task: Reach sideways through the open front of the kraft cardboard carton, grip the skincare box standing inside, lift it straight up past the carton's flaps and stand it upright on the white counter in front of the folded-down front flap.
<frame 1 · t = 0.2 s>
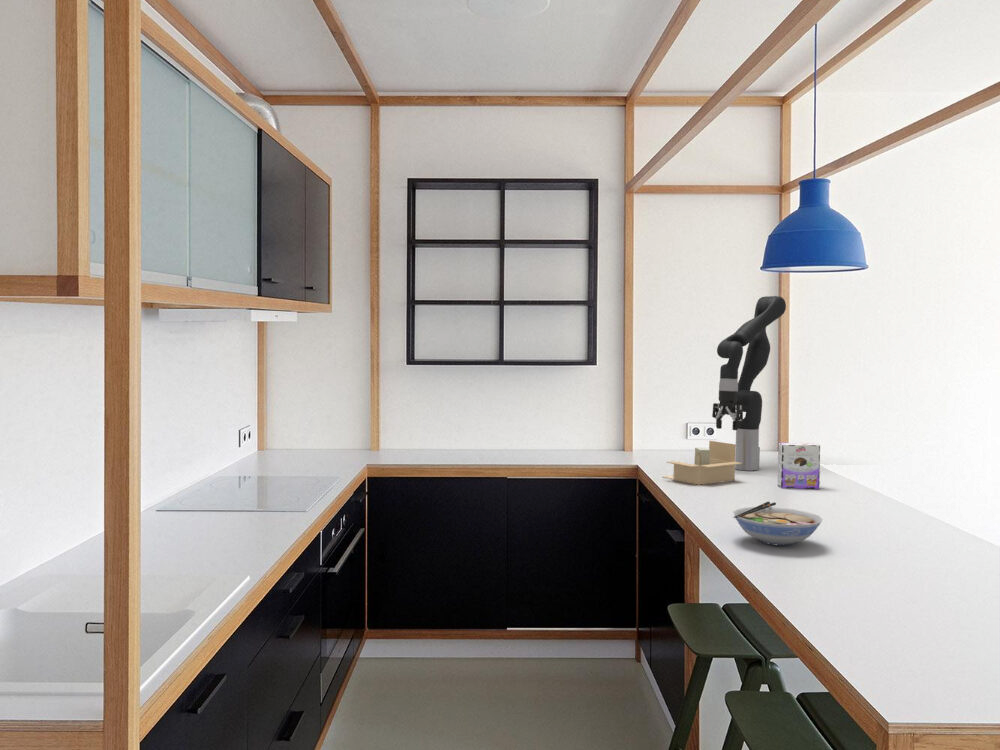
hand: (726, 429, 335), 18 cm above the counter, tool pointing down, fingers open, 8 cm apart
ramen bowl: (776, 543, 219), on the counter
carton: (704, 480, 316), on the counter
candy box: (798, 488, 303), on the counter
skincare box: (701, 480, 317), resting in carton
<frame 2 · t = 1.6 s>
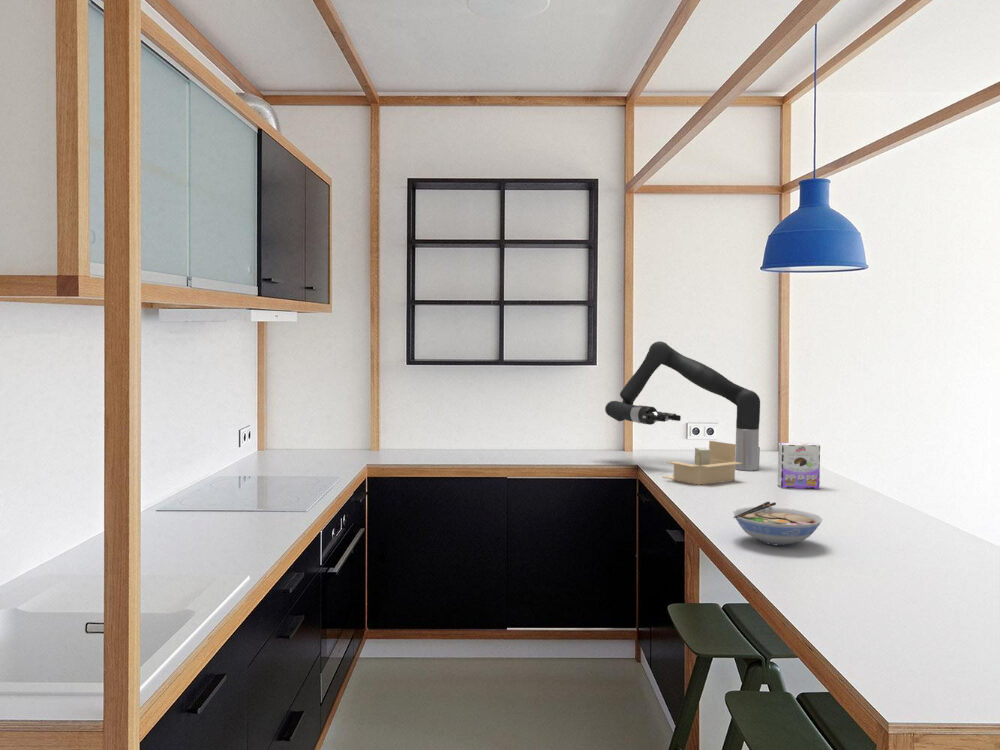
hand: (672, 418, 329), 22 cm above the counter, tool horizontal, fingers open, 8 cm apart
nothing on the counter moved.
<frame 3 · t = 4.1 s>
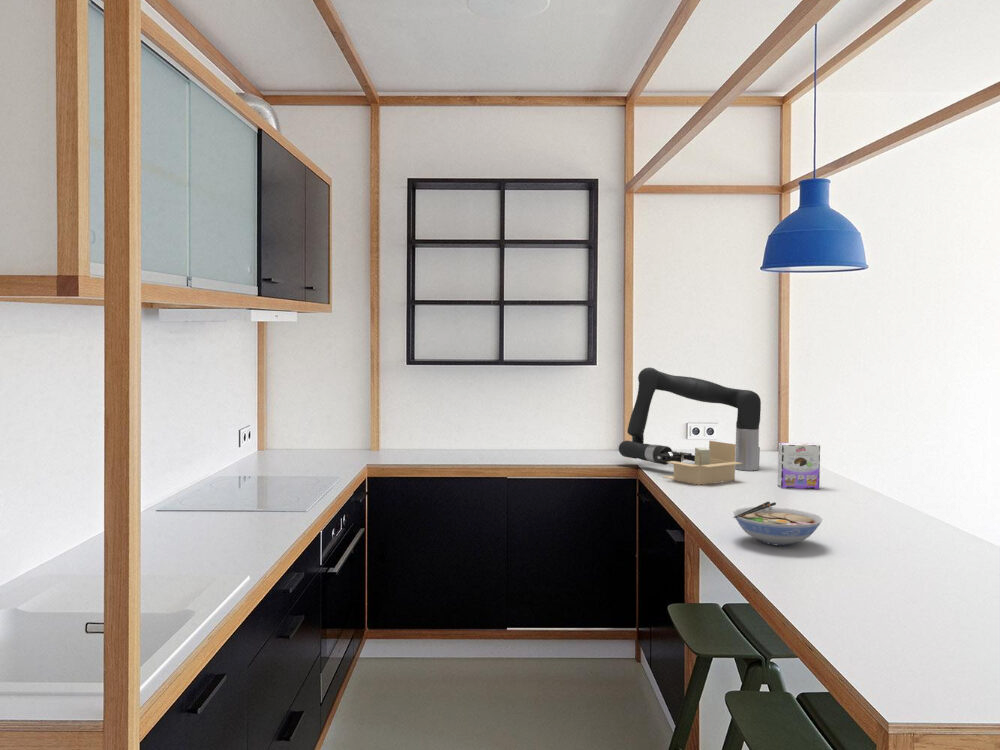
hand: (688, 459, 323), 7 cm above the counter, tool horizontal, fingers open, 8 cm apart
nothing on the counter moved.
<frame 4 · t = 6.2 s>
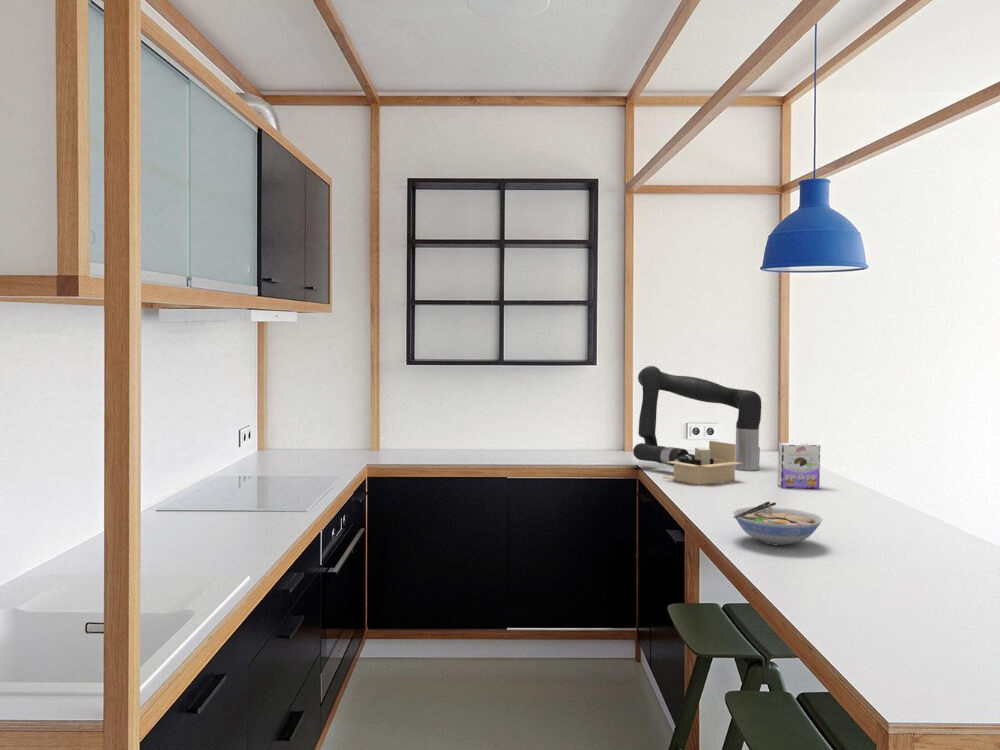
hand: (706, 462, 315), 7 cm above the counter, tool horizontal, fingers closed on skincare box, 6 cm apart
skincare box: (701, 480, 317), resting in carton, touching gripper
everything else where it was.
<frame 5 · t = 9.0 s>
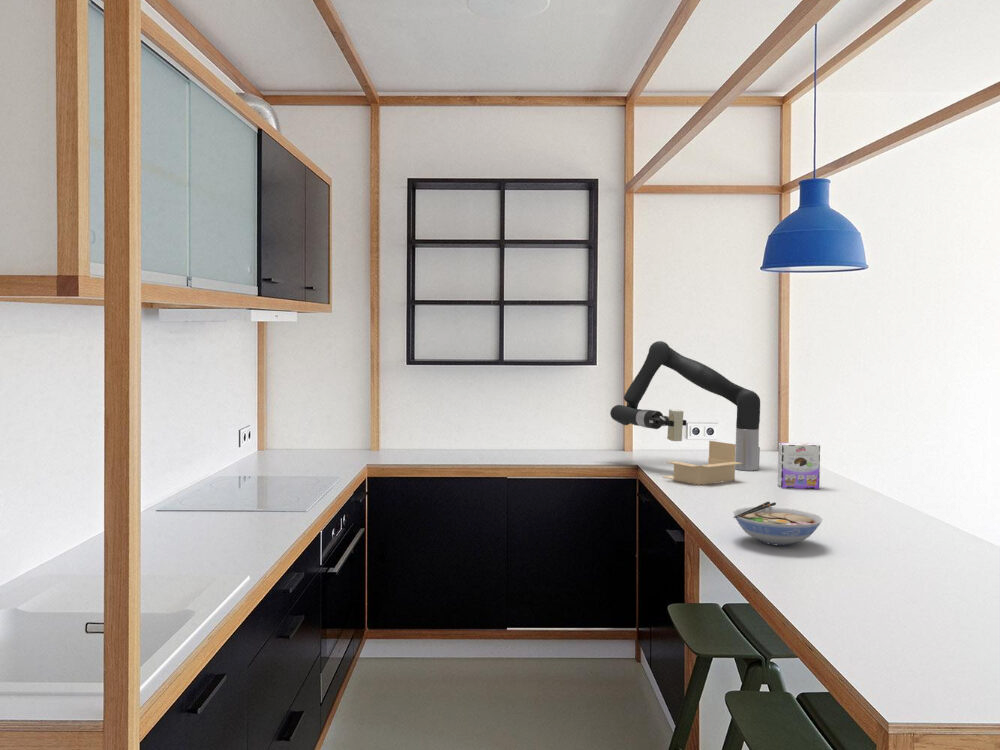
hand: (679, 423, 326), 21 cm above the counter, tool horizontal, fingers closed on skincare box, 6 cm apart
skincare box: (674, 440, 328), point 14 cm above the counter, touching gripper
everything else where it was.
when the fingers open (8 cm above the counter, at t = 12.2 s): skincare box drops 1 cm, on the counter.
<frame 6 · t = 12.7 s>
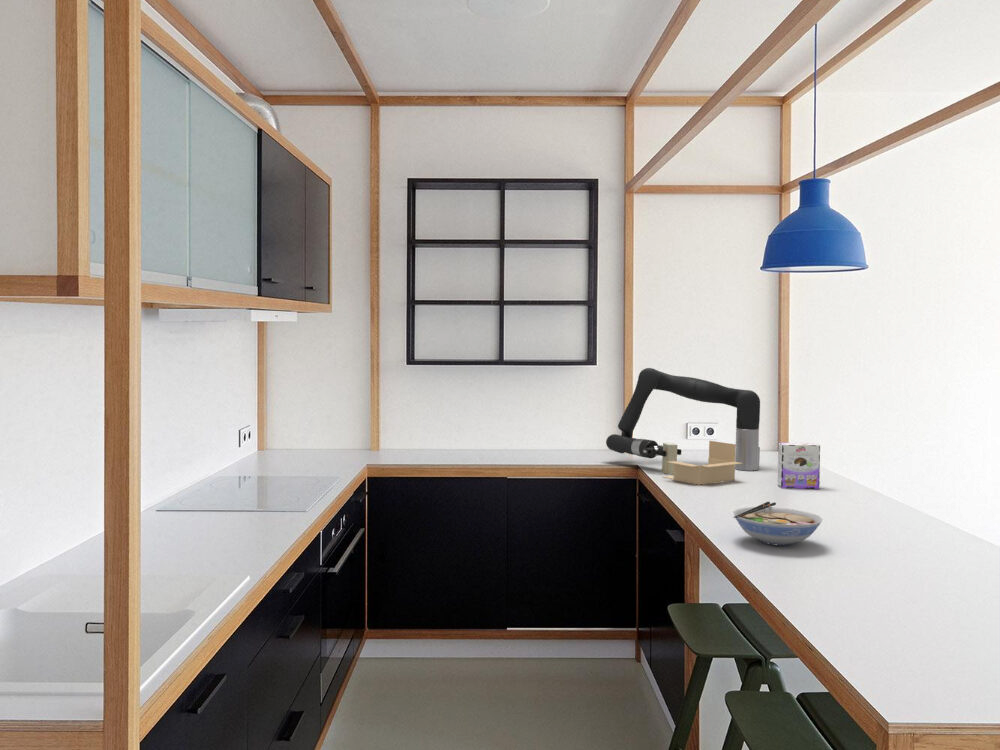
hand: (673, 453, 329), 9 cm above the counter, tool horizontal, fingers open, 8 cm apart
skincare box: (669, 473, 331), on the counter
everything else where it was.
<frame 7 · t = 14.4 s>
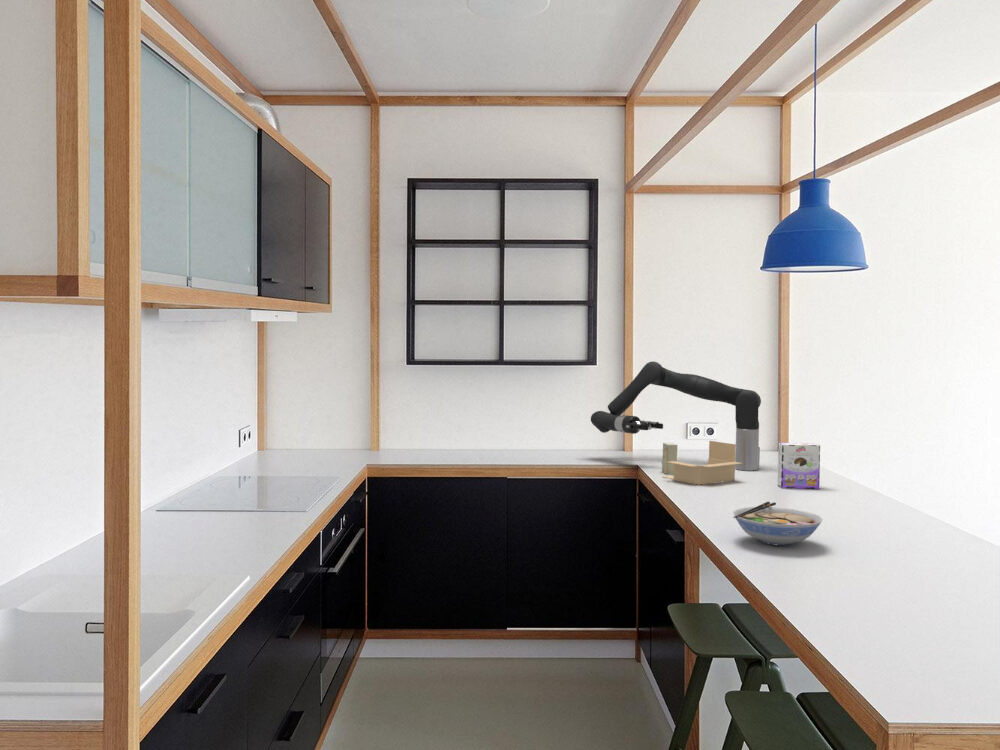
hand: (655, 426, 337), 18 cm above the counter, tool horizontal, fingers open, 8 cm apart
nothing on the counter moved.
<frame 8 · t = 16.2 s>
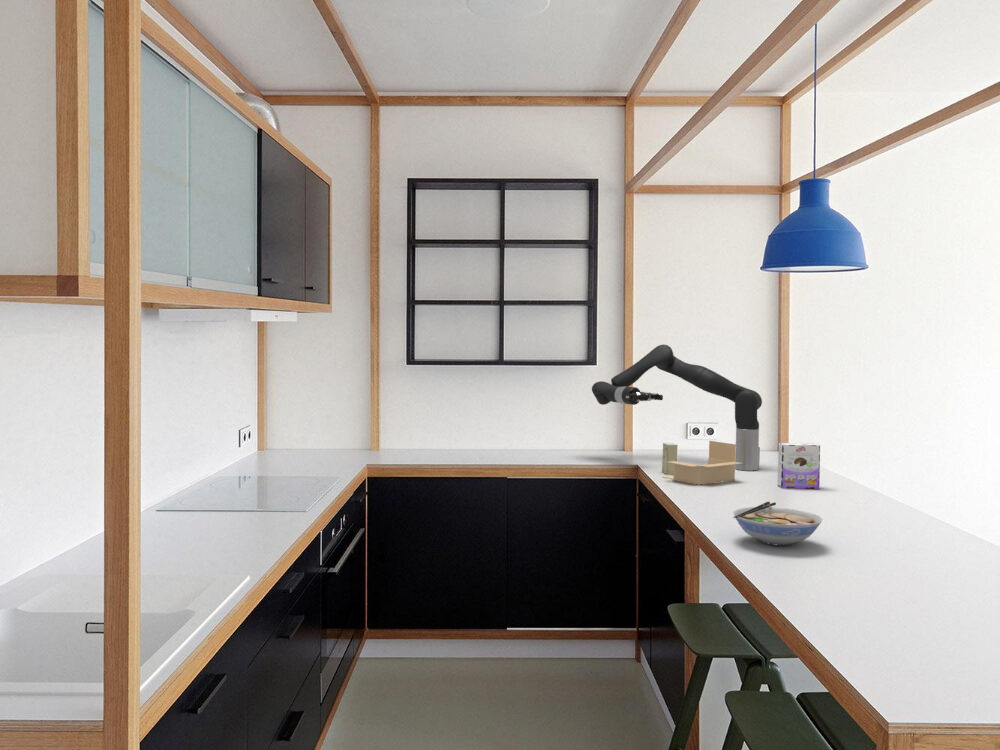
hand: (654, 397, 337), 30 cm above the counter, tool horizontal, fingers open, 8 cm apart
nothing on the counter moved.
at the end: skincare box inside the target area (0.1 cm from its centre), on the counter; skincare box tilted 0°; the gripper is holding nothing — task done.
